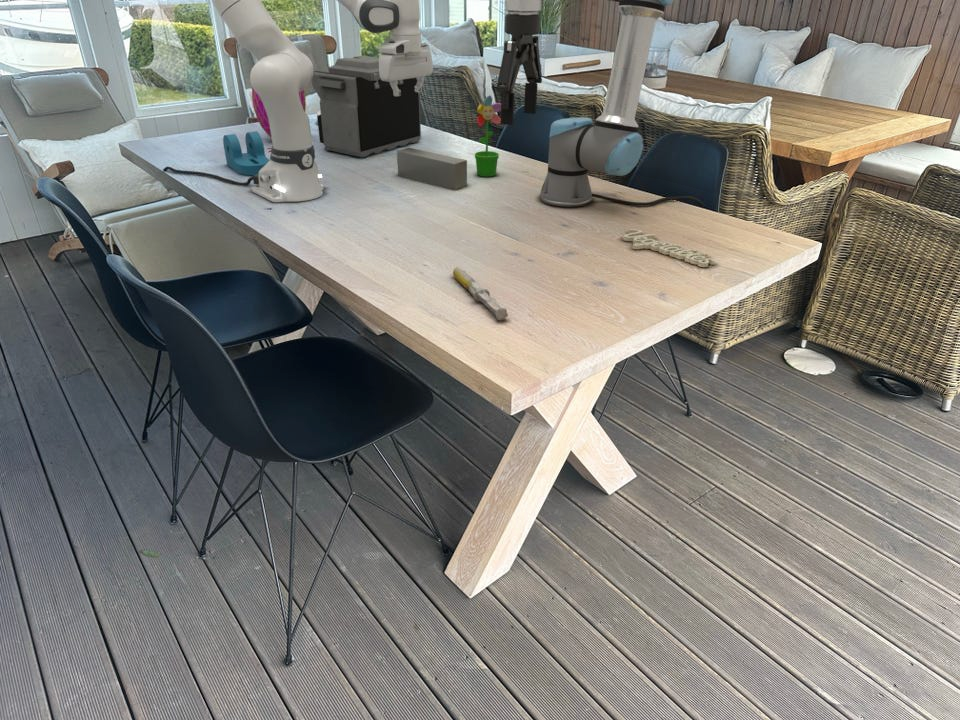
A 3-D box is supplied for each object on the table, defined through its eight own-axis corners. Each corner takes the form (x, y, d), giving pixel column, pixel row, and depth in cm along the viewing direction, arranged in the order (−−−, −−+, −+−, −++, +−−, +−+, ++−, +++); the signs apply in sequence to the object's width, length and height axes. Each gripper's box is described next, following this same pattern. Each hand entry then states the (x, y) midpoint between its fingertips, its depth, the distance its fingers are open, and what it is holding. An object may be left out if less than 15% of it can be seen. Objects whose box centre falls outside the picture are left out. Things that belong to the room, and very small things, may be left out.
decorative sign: (608, 236, 174) (633, 227, 180) (608, 240, 175) (632, 231, 180) (698, 267, 157) (722, 256, 163) (698, 271, 158) (721, 260, 163)
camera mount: (227, 164, 233) (221, 132, 227) (257, 160, 238) (252, 129, 233) (244, 176, 220) (239, 143, 215) (276, 172, 225) (271, 139, 220)
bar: (467, 185, 215) (467, 160, 211) (454, 190, 211) (454, 163, 207) (410, 172, 228) (409, 147, 224) (397, 175, 224) (396, 150, 220)
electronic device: (383, 133, 276) (378, 52, 261) (425, 141, 265) (422, 56, 250) (314, 150, 251) (304, 61, 235) (358, 160, 240) (350, 67, 224)
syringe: (449, 274, 155) (449, 263, 153) (465, 272, 156) (464, 260, 154) (490, 323, 135) (491, 310, 133) (508, 319, 136) (508, 307, 134)
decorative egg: (293, 132, 276) (283, 50, 261) (319, 140, 264) (310, 56, 249) (249, 139, 265) (236, 54, 250) (273, 148, 253) (261, 60, 238)
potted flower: (480, 178, 221) (480, 97, 208) (469, 172, 227) (469, 93, 214) (505, 175, 225) (507, 94, 212) (494, 169, 231) (495, 90, 218)
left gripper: (421, 41, 213) (423, 88, 220) (374, 46, 199) (377, 97, 206) (437, 43, 210) (437, 90, 217) (389, 48, 196) (392, 99, 203)
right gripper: (528, 9, 155) (524, 107, 165) (481, 16, 135) (480, 127, 146) (559, 10, 152) (553, 110, 163) (516, 17, 132) (512, 131, 143)
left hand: (407, 94), depth 211 cm, fingers open, 8 cm apart
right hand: (518, 118), depth 154 cm, fingers open, 13 cm apart
